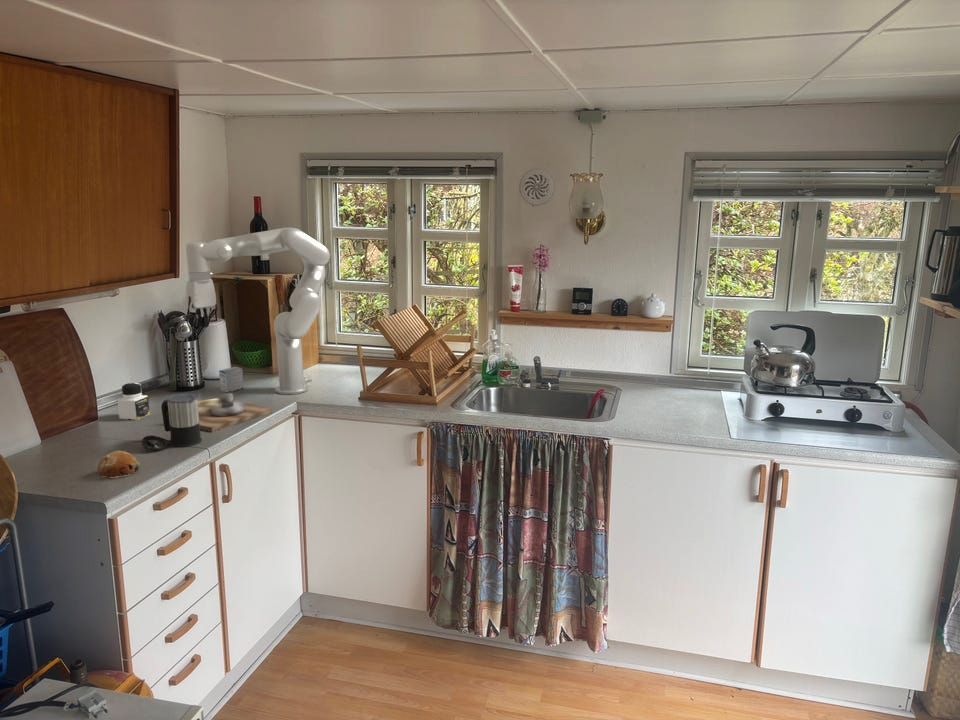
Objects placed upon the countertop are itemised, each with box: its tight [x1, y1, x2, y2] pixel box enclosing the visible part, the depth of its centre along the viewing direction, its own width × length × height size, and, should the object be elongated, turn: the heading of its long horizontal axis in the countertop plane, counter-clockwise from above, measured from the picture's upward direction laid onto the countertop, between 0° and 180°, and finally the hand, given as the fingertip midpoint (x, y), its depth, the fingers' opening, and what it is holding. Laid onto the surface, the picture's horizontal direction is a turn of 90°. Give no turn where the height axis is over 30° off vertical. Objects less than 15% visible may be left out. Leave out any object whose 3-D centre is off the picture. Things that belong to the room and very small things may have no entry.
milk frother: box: [141, 393, 203, 452], centre depth 224 cm, size 14×16×15 cm
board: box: [198, 402, 272, 432], centre depth 255 cm, size 26×22×2 cm
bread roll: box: [97, 450, 141, 477], centre depth 203 cm, size 10×10×8 cm
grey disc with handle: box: [197, 392, 245, 416], centre depth 253 cm, size 20×12×6 cm, turn 125°
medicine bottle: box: [117, 382, 151, 421], centre depth 255 cm, size 7×7×12 cm
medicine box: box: [218, 366, 244, 393], centre depth 291 cm, size 8×4×9 cm, turn 144°
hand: (204, 326), depth 267 cm, fingers closed
